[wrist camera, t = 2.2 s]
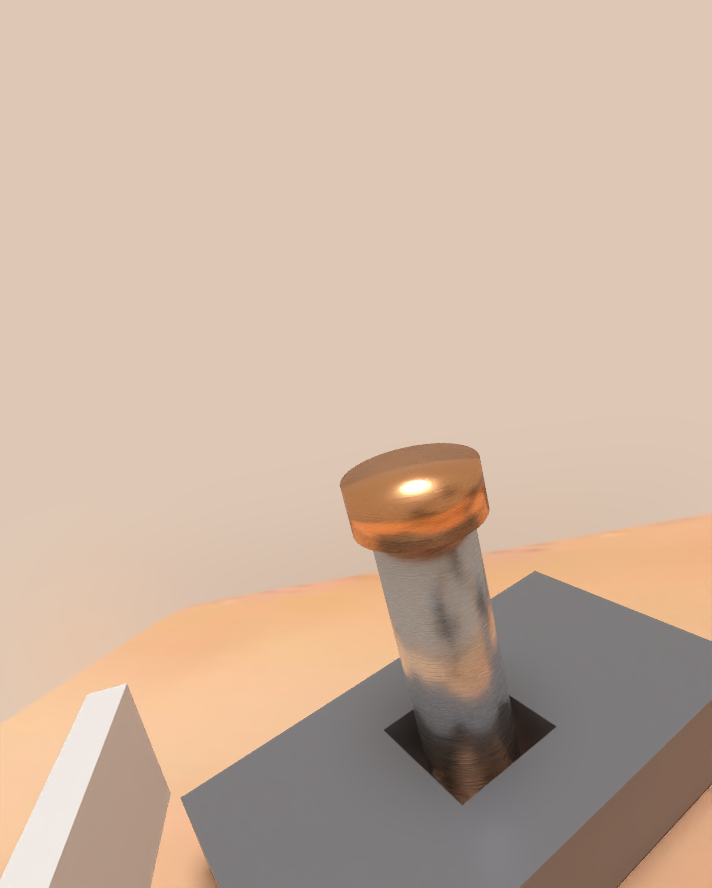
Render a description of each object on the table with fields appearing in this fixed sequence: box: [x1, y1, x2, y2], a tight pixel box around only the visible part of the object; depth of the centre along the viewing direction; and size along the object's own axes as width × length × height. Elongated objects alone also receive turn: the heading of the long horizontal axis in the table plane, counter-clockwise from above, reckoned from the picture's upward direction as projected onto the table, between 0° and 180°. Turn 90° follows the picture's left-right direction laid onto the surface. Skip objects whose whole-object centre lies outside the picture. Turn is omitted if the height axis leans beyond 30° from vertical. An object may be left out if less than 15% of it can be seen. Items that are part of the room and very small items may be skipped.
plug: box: [340, 443, 521, 805], centre depth 24 cm, size 5×5×16 cm
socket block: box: [181, 571, 712, 888], centre depth 26 cm, size 22×12×4 cm, turn 123°
